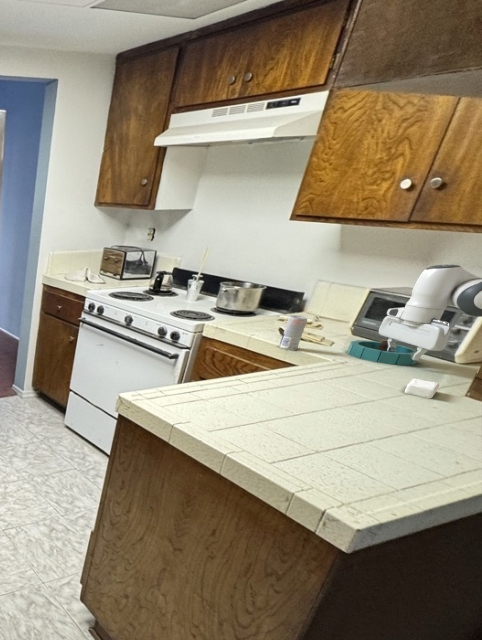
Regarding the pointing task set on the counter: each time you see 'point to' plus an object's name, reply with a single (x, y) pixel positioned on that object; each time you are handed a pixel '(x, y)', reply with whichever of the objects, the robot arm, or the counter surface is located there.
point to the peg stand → (383, 345)
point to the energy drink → (293, 332)
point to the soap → (422, 388)
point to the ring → (381, 353)
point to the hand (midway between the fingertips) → (402, 355)
